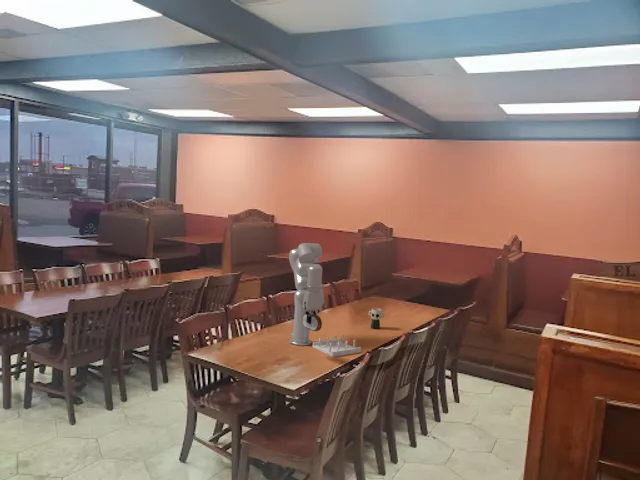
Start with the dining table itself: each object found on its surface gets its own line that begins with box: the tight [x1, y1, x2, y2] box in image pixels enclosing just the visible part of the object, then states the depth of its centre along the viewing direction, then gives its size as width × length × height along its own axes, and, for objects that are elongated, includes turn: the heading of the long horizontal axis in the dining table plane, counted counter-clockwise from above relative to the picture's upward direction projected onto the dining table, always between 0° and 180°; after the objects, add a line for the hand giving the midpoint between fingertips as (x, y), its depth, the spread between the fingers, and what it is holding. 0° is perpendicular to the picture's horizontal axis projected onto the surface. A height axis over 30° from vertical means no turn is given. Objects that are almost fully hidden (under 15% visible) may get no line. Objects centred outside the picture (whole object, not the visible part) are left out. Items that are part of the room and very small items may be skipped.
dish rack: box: [312, 334, 362, 358], centre depth 296 cm, size 19×20×6 cm
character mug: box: [368, 307, 385, 330], centre depth 350 cm, size 11×7×13 cm, turn 68°
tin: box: [302, 312, 323, 332], centre depth 279 cm, size 15×3×8 cm, turn 37°
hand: (311, 322), depth 279 cm, fingers closed on tin, 2 cm apart
